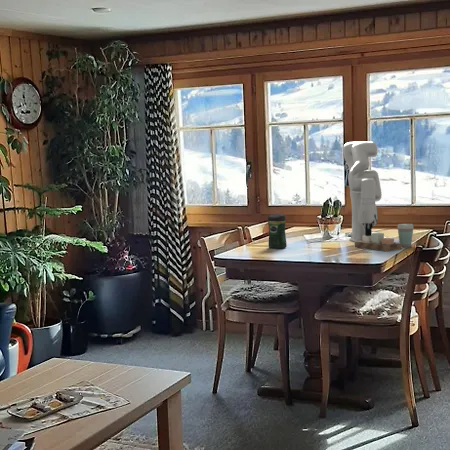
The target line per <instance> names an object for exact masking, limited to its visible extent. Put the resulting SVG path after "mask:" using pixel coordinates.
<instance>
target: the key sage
mask: <svg viewBox="0 0 450 450" xmlns="http://www.w3.org/2000/svg"><path fill="white" fill-rule="evenodd" d="M382 238H385V233H383V232H372V243H382Z"/></svg>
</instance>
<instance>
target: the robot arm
mask: <svg viewBox="0 0 450 450" xmlns="http://www.w3.org/2000/svg"><path fill="white" fill-rule="evenodd" d="M378 149H379V148H378V145H377V143H376V142H375V141H369V140H367V141H365V140H364V141H349V142H346V143H345V144H344V145H343V146H342V150H343V151H342V154H343V158H344V161H345V162H346V165H347V166H348V174H347V179H348V180H347V181H348V187H349V190H350V191H349V195H350V202H351V232H349V233H348V234H347V236H349V239H348V240H349V241H351V242H355V241H361V240H362V236H364V235H365V236H371V235H372V233H373V232H372V230H373V228H374V226H377V222H378V208H377V204H376V203H377V202H379V201H381V200H382V188H381V182H380V178H379V173H378V172H377V171H376V170H374V169H369V167H370V160H369V158H375V157H377V156H378V152H379V151H378Z"/></svg>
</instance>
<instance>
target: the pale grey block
mask: <svg viewBox="0 0 450 450" xmlns="http://www.w3.org/2000/svg"><path fill="white" fill-rule="evenodd" d="M362 240H363V241H365V242H372V235H371V236H365V235H364V236H362Z"/></svg>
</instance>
